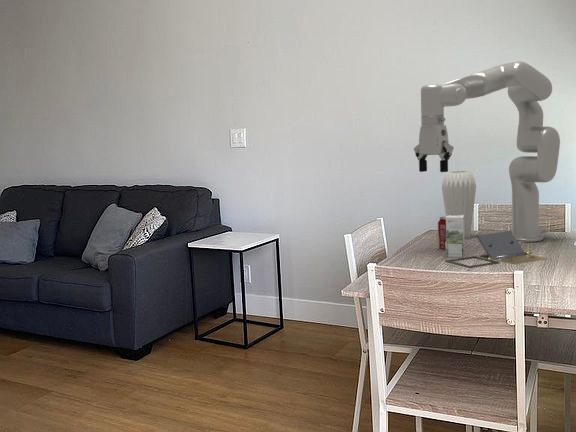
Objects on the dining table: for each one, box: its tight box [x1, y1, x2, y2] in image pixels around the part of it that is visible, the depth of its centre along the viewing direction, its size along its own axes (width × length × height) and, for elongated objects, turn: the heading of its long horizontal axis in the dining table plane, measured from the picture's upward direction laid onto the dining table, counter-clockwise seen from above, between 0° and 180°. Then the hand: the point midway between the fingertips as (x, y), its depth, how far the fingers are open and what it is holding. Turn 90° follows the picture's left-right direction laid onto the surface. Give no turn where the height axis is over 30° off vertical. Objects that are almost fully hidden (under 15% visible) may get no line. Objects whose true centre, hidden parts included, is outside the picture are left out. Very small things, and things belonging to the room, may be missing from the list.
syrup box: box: [445, 215, 466, 258], centre depth 206 cm, size 6×6×14 cm
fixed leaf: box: [485, 250, 549, 266], centre depth 196 cm, size 18×11×2 cm, turn 113°
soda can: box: [437, 216, 447, 251], centre depth 219 cm, size 7×7×12 cm
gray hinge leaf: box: [476, 230, 527, 261], centre depth 203 cm, size 14×10×1 cm
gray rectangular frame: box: [445, 255, 501, 272], centre depth 194 cm, size 12×12×1 cm
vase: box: [441, 170, 477, 239], centre depth 244 cm, size 13×13×26 cm
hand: (433, 171), depth 211 cm, fingers open, 9 cm apart
